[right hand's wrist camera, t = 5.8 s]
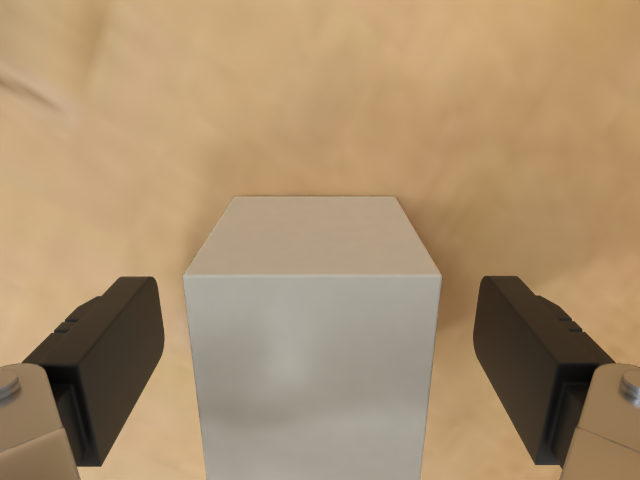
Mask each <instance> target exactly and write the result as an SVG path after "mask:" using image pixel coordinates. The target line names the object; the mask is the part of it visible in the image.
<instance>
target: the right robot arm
mask: <svg viewBox="0 0 640 480" xmlns="http://www.w3.org/2000/svg"><path fill="white" fill-rule="evenodd" d="M473 342H474V349H475V353H476V356H477V358H478V360H479V362H480V364H481V366H482V367H483V369H484V371H485V373H486V375H487V377H488V378H489V380H490V382H491V384H492V386H493V388H494V390H495V391H496V393H497V395H498V397H499V399H500V401H501V402H502V404H503V406H504V408H505V410H506V412H507V414H508V415H509V417H510V419H511V421H512V423H513V425H514V426H515V428H516V430H517V432H518V434H519V436H520V438H521V439H522V441H523V443H524V445H525V447H526V449H527V450H528V452H529V454H530V456H531V458H532V460H533V461H534V463H535V465H560V466H561V468H562V473H561V476H560V479H559V480H640V367H638V366H634V365H629V364H621V363H616V362H615V361H614V360H613V359H612V358H611V357H610V356H609V355H608V354H607V353H606V352H605V351H604V350H603V349H602V348H601V347H600V346H599V345H597V344H596V343H595V342H594V341H593V340H592V339H591V338H590V337H589V336H588V335H587V334H586V333H585V332H582V329H581V328H580V327H579V326H578V325H577V324H576V323H575V322H574V321H572V319H571V318H570V317H569V316H568V315H567V314H566V313H565V312H564V311H563V310H562V309H561V308H560V307H559V306H558V305H556V304H554V303H552V302H550V301H549V300H547V299H545V298H543V297H541V296H536V295H535V294H534V293H533V292H532V291H531V290H530V289H529V288H528V287H527V286H526V285H525V284H524V283H523V282H522V281H521V280H520V278H518V277H517V276H484V277H483V279H482V281H481V283H480V289H479V296H478V303H477V310H476V317H475V324H474V332H473ZM163 348H164V327H163V320H162V313H161V306H160V299H159V292H158V286H157V282H156V280H155V278H154V277H120V278H118V279H117V280H116V282H115V283H114V284H113V285H112V286H111V287H110V288H109V289H108V290H107V291H106V292H105V293H104V294H103V295H102V296H97V297H95V298H93V299H92V300H90V301H88V302H86V303H84V304H83V305H81V306H79V307H77V308H76V309H75V310H74V311H73V312H72V313H71V314H70V315H69V316H68V317H67V318H66V319H65V322H62V323H61V324H60V325H59V326H58V327H57V328H56V329H55V330H54V333H51V334H50V335H49V336H48V337H47V338H46V339H45V340H44V341H43V342H42V343H41V344H40V345H39V346H38V347H37V348H36V349H35V350H34V351H33V352H32V353H31V354H30V355H29V356H28V357H27V358H26V359H25V360H24V361H23V362H22V363H19V364H11V365H6V366H2V367H0V480H81V479H80V476H79V473H78V470H77V467H101V466H102V464H103V462H104V460H105V459H106V457H107V455H108V453H109V451H110V449H111V448H112V446H113V444H114V442H115V440H116V438H117V437H118V435H119V433H120V431H121V429H122V428H123V426H124V424H125V422H126V420H127V418H128V417H129V415H130V413H131V411H132V409H133V408H134V406H135V404H136V402H137V400H138V398H139V397H140V395H141V393H142V391H143V389H144V387H145V386H146V384H147V382H148V380H149V378H150V377H151V375H152V373H153V371H154V369H155V367H156V366H157V364H158V362H159V360H160V358H161V356H162V353H163Z"/></svg>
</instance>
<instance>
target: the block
mask: <svg viewBox="0 0 640 480" xmlns="http://www.w3.org/2000/svg"><path fill="white" fill-rule="evenodd" d="M441 282H442V275H441V273H440V271H439V270H438V268H437V266H436V265H435V263H434V261H433V260H432V258H431V256H430V255H429V253H428V251H427V250H426V248H425V246H424V244H423V243H422V241H421V239H420V238H419V236H418V234H417V233H416V231H415V229H414V228H413V226H412V224H411V223H410V221H409V219H408V218H407V216H406V214H405V213H404V211H403V209H402V207H401V206H400V204H399V202H398V201H397V199H396V197H394V196H235V197H233V199H232V201H231V202H230V204H229V205H228V207H227V208H226V210H225V211H224V213H223V214H222V216H221V217H220V219H219V221H218V222H217V224H216V225H215V227H214V228H213V230H212V231H211V233H210V234H209V236H208V238H207V239H206V241H205V242H204V244H203V245H202V247H201V248H200V250H199V251H198V253H197V254H196V256H195V258H194V259H193V261H192V262H191V264H190V265H189V267H188V268H187V270H186V271H185V273H184V275H183V284H184V292H185V300H186V309H187V317H188V326H189V334H190V342H191V351H192V359H193V368H194V376H195V384H196V393H197V401H198V410H199V418H200V426H201V435H202V443H203V452H204V460H205V468H206V477H207V480H420V476H421V466H422V457H423V448H424V439H425V430H426V420H427V411H428V402H429V393H430V384H431V374H432V365H433V356H434V347H435V338H436V328H437V319H438V310H439V301H440V292H441Z"/></svg>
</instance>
